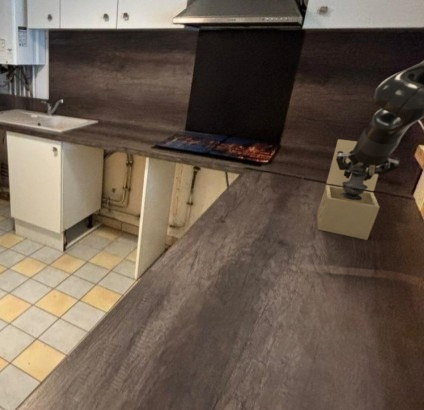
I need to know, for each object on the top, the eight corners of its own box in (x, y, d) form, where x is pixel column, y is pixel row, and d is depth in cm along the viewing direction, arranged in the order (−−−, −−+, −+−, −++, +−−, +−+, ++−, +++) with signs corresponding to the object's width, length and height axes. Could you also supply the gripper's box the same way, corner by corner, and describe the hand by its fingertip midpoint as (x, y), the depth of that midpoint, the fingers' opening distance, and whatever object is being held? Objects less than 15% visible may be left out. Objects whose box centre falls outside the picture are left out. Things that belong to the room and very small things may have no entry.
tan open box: (367, 240, 99) (379, 207, 95) (317, 229, 104) (327, 198, 100) (362, 222, 109) (373, 192, 105) (317, 213, 114) (326, 184, 110)
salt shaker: (341, 198, 101) (355, 157, 96) (336, 191, 106) (348, 152, 101) (366, 201, 99) (381, 159, 94) (359, 194, 104) (373, 154, 99)
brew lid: (386, 144, 103) (382, 147, 107) (338, 139, 108) (336, 141, 112) (374, 190, 104) (370, 191, 108) (326, 183, 110) (324, 184, 114)
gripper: (415, 133, 85) (388, 169, 100) (344, 127, 92) (329, 161, 106) (412, 160, 83) (385, 193, 98) (340, 151, 90) (324, 183, 104)
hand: (356, 176), depth 102 cm, fingers closed on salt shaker, 3 cm apart
